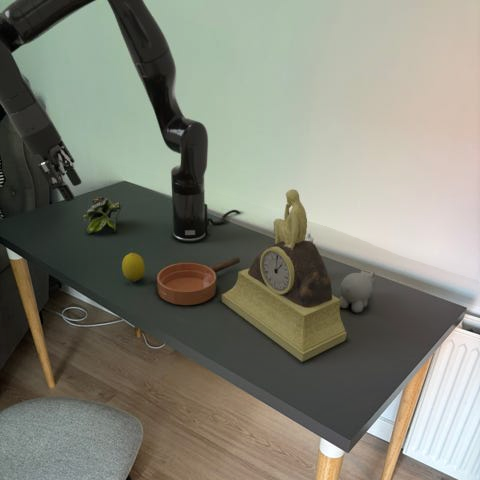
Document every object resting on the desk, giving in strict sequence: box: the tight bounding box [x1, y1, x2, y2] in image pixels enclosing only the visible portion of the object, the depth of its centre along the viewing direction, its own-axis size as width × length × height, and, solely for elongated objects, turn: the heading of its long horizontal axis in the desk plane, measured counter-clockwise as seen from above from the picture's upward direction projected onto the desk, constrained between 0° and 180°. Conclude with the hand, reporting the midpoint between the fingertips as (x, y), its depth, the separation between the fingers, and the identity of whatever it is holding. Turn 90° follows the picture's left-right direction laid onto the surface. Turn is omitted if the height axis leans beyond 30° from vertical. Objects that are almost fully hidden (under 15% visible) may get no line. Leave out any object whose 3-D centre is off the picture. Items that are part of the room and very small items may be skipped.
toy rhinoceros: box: [339, 267, 376, 314], centre depth 122 cm, size 7×12×8 cm, turn 141°
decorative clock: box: [221, 188, 348, 363], centre depth 108 cm, size 28×13×30 cm, turn 37°
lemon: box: [121, 252, 146, 283], centre depth 127 cm, size 6×6×8 cm
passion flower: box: [83, 196, 123, 235], centre depth 152 cm, size 11×11×12 cm
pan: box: [156, 262, 217, 306], centre depth 125 cm, size 14×14×4 cm
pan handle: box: [206, 256, 241, 274], centre depth 131 cm, size 11×2×2 cm, turn 133°
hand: (74, 192), depth 120 cm, fingers open, 8 cm apart
